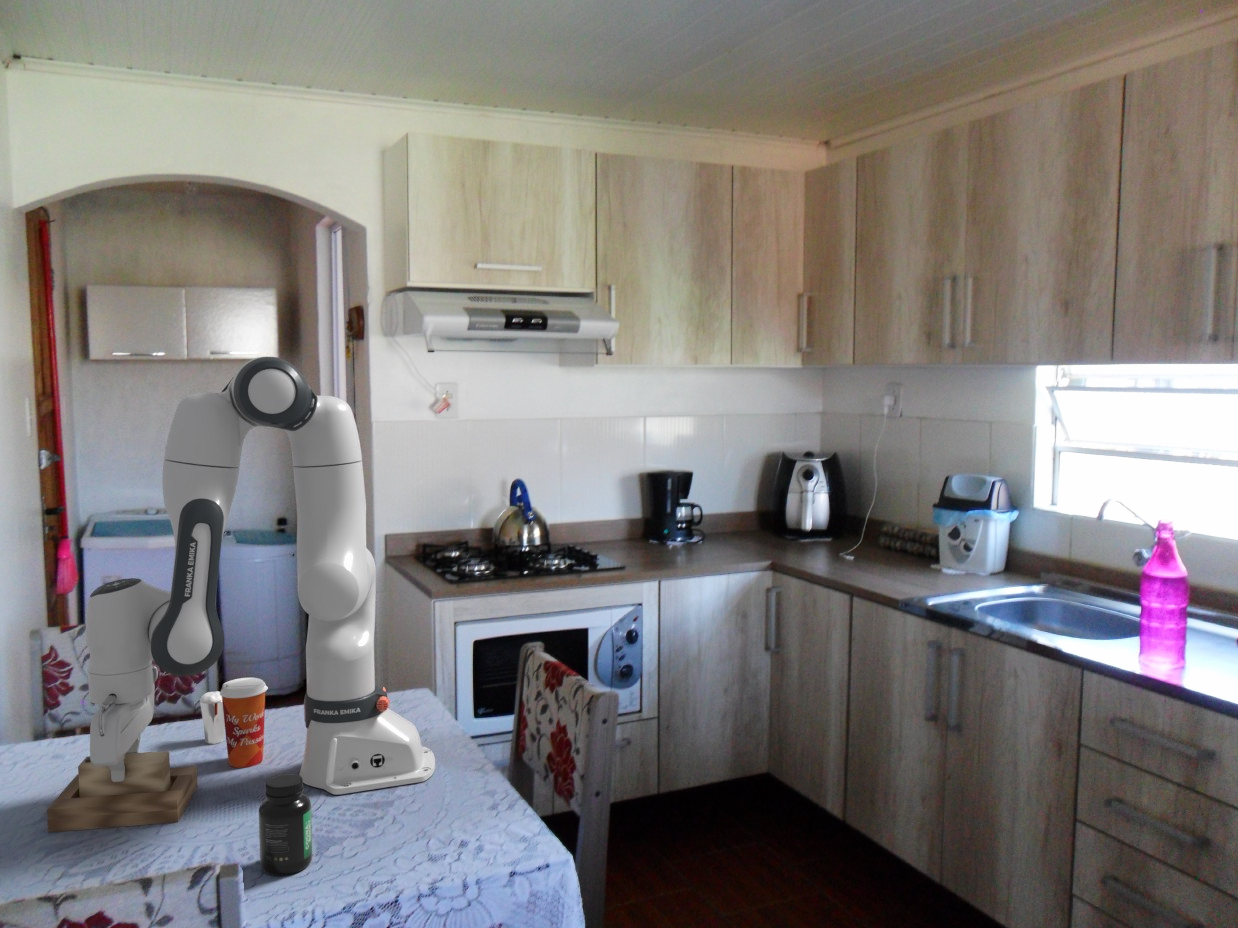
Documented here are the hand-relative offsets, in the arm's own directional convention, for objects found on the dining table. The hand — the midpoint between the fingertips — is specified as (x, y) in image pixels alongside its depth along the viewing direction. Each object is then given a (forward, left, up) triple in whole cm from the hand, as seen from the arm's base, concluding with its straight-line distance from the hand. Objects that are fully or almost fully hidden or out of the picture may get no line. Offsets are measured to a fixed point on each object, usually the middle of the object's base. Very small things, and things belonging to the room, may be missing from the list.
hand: (125, 771), depth 153 cm
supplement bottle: (-27, +23, -6) cm, 36 cm away
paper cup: (-15, -16, -6) cm, 23 cm away
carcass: (0, 0, -6) cm, 6 cm away
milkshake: (-8, -27, -6) cm, 29 cm away
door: (0, 0, -4) cm, 4 cm away
